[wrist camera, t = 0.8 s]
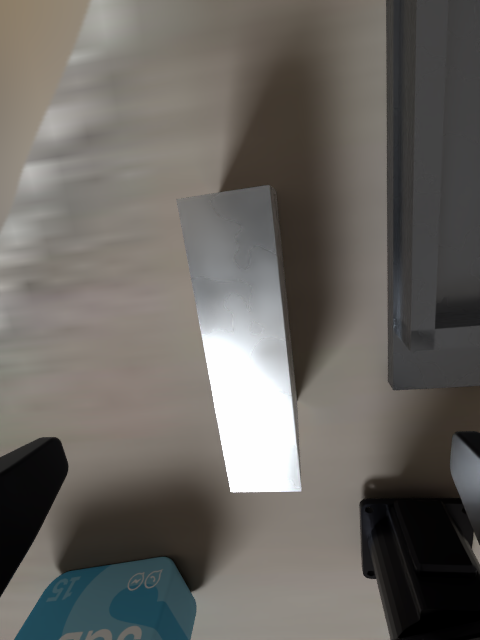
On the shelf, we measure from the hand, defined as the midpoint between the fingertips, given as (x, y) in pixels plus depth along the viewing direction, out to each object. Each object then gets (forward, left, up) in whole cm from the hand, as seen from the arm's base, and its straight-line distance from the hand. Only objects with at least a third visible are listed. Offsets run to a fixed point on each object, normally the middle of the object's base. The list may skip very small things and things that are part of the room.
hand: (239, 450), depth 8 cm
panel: (0, 0, -12) cm, 12 cm away
